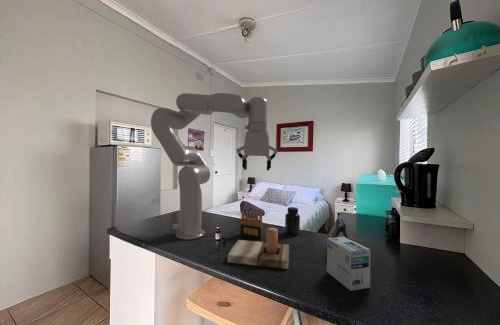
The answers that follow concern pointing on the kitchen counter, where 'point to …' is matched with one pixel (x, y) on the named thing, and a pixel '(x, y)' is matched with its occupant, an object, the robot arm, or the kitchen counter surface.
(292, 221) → the supplement bottle
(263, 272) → the kitchen counter surface
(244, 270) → the kitchen counter surface
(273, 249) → the peg
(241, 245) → the plywood deck
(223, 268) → the kitchen counter surface
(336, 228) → the phone stand
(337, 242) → the light bulb box
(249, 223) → the ammunition clip
